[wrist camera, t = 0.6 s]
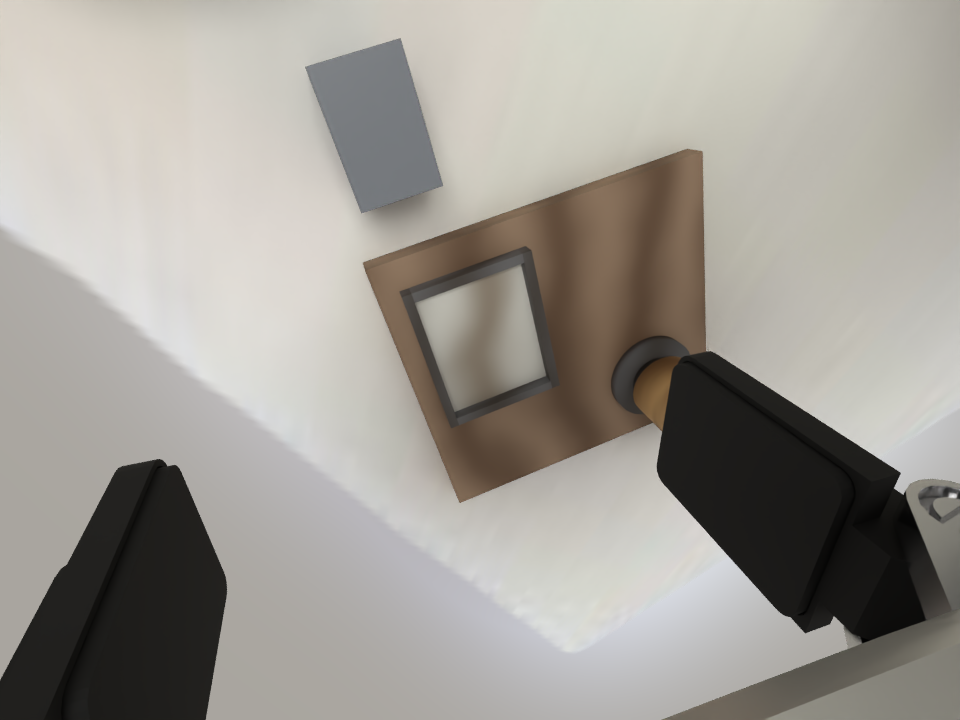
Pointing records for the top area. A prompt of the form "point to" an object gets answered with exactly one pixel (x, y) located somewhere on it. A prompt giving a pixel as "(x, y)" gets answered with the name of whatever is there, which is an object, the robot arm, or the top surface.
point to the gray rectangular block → (376, 124)
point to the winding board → (551, 320)
